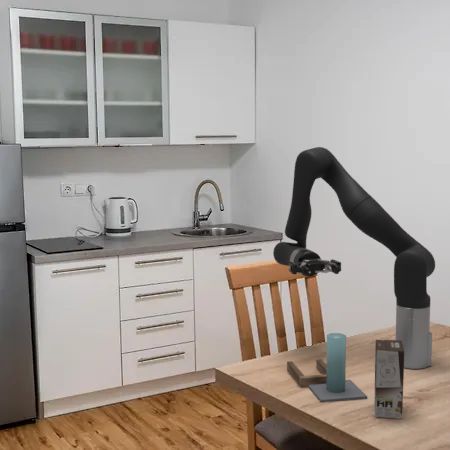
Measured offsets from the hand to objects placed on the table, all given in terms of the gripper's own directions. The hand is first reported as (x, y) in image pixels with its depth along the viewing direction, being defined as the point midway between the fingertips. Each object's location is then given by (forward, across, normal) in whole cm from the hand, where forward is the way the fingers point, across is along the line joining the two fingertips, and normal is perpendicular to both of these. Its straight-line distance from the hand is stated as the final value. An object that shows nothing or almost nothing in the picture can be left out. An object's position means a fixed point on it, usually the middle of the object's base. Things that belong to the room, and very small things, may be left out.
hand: (322, 271), depth 188 cm
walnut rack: (+5, -5, +28) cm, 29 cm away
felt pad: (+17, -2, +28) cm, 33 cm away
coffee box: (+31, +6, +29) cm, 42 cm away
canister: (+17, -2, +27) cm, 32 cm away
